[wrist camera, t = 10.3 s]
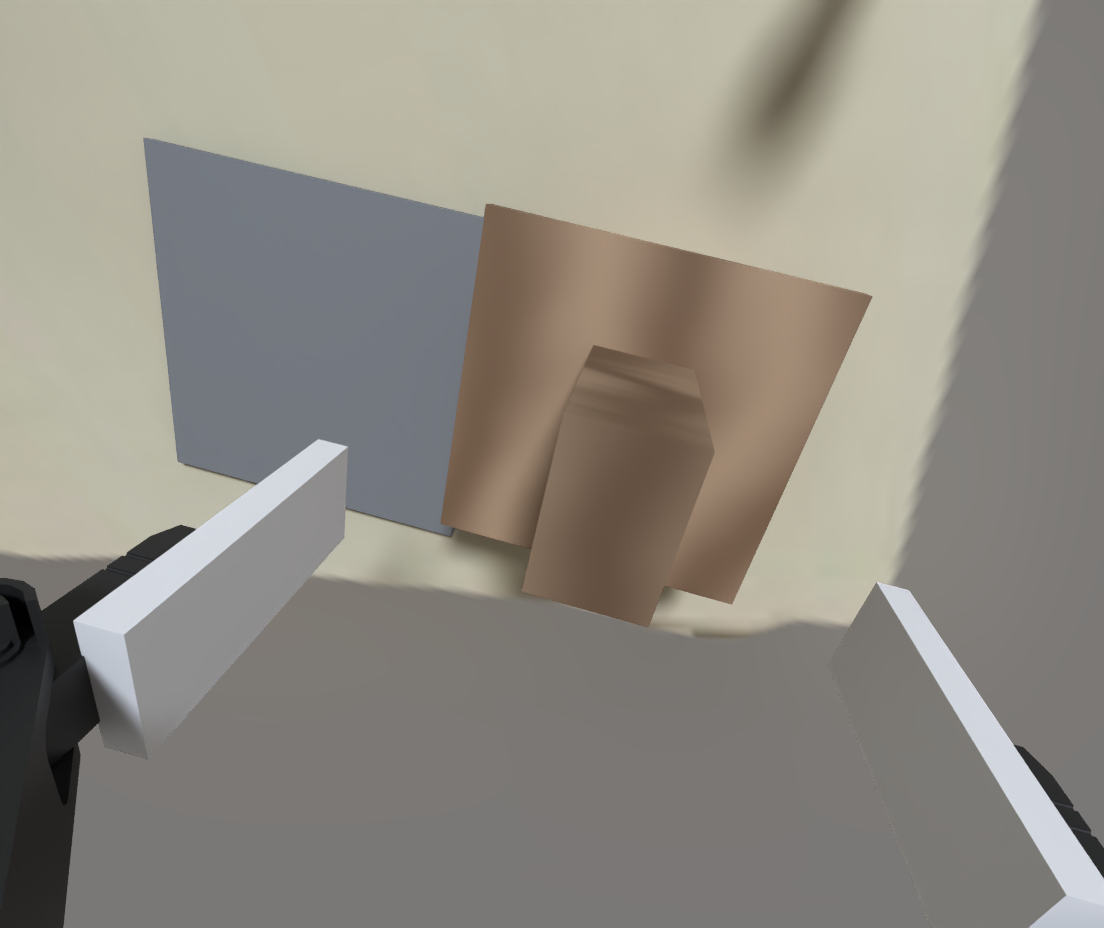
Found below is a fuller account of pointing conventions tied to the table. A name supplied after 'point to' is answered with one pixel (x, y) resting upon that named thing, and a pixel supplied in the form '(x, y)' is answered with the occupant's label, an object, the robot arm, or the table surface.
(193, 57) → the table surface
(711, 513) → the walnut lid
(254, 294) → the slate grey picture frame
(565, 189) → the table surface
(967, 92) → the table surface
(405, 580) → the table surface
